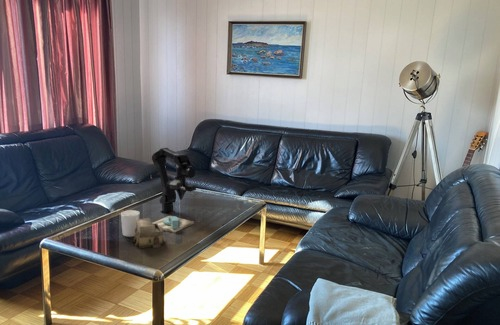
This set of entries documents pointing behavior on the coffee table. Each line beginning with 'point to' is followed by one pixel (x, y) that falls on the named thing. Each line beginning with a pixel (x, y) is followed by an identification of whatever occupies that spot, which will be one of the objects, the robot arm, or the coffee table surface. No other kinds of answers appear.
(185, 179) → the robot arm
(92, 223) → the coffee table surface
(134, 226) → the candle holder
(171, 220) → the flange
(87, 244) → the coffee table surface
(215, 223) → the coffee table surface
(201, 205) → the coffee table surface
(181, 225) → the post board
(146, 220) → the miniature house
